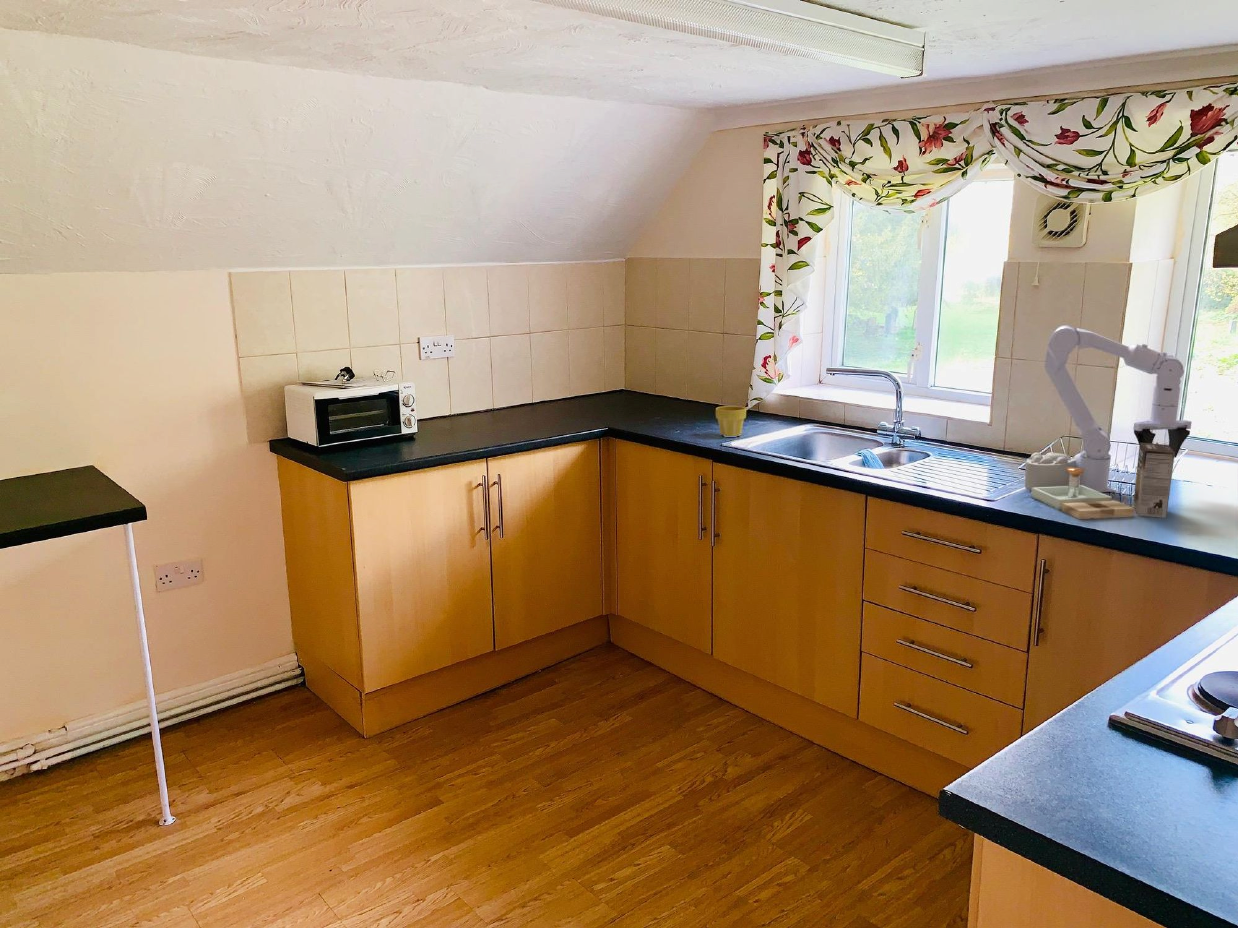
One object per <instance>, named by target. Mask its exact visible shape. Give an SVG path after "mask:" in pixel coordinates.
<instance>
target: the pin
mask: <svg viewBox="0 0 1238 928" xmlns="http://www.w3.org/2000/svg"><path fill="white" fill-rule="evenodd" d="M1084 471H1085V470H1084V469H1082V468H1074V467H1071V468H1067V472H1068V473H1070V478H1069V488H1068V498H1078V495H1079V485H1080V475H1081V474H1083V473H1084Z"/></svg>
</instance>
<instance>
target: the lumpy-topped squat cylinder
mask: <svg viewBox="0 0 1238 928" xmlns="http://www.w3.org/2000/svg"><path fill="white" fill-rule="evenodd" d="M1073 458H1074V457H1073ZM1073 458H1071V457H1070V456H1069V455H1067V454H1065V453H1057V452H1052V451H1050V452H1047V453H1046V454H1042V453H1041V452H1039V451H1038V452H1033V453H1032V454H1031V456H1030V457H1028V458H1026V461H1025V471H1024V472H1025V477H1024V488H1025V489H1026V488H1027V489H1026V490H1029V491H1031V489H1032V488H1035V487H1056V486H1069V478H1070V473H1068V472H1067V468H1071V467H1074V468H1075V463H1076V460H1075V459H1073Z"/></svg>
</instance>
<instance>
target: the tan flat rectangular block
mask: <svg viewBox="0 0 1238 928" xmlns="http://www.w3.org/2000/svg"><path fill="white" fill-rule="evenodd" d="M1061 512H1063V513H1065V514H1067V515H1069V516H1071V517H1074V518H1076V519H1078V520H1087V519H1088V520H1090V518H1094V519H1108V518H1107V517H1113V518H1129V517H1134V516H1135V512H1136V511H1135V508H1134V507H1133V506H1130V505H1128V504H1126V503H1123V502H1121V501H1119V500H1118V501H1117V500H1112V501H1099V502H1079V503H1063V505H1062V509H1061Z"/></svg>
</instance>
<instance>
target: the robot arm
mask: <svg viewBox="0 0 1238 928" xmlns="http://www.w3.org/2000/svg"><path fill="white" fill-rule="evenodd" d="M1077 346H1078V349H1079V350H1083V349H1089V348H1091V349H1095V350H1098V351H1102V352H1105V353H1107V354H1109V355H1113V356H1117V357H1118V358H1122V359H1123V361H1124V364H1125V366H1128V367H1130V368H1133V369H1136V370H1139V371H1140V372H1143V373H1146V374H1149V375H1156V378H1155V384H1154V386H1153V394H1152V400H1151V411H1150V419H1149V420H1144V421H1134V422H1133V428H1132V429H1133V434H1134V435H1135V437H1136V439H1137V442H1138V447H1139V446H1140V443H1153V442H1154V439H1155V437H1156V433H1154V432H1152V431H1157V430H1161V431H1162V430H1167V433H1168V445H1169V446H1170V448H1171V449H1172V450H1173V451H1174V452H1175V455H1174V459H1175V458H1177V456H1178V454H1179V452H1180V450H1181V447H1182V446H1183V444H1184V442H1185V441H1186V439H1187V438H1188V437H1189V436H1190V434H1191V431H1190V430H1191V429H1192V421H1191V420H1185V419H1184V420H1181V419H1177V417H1178V408H1179V400H1180V395H1181V394H1180V393H1181V387H1180V386H1181V384H1182V383H1181V378H1182V377H1183V376H1184V373H1185V370H1184V365H1183V364H1182V362H1181V361H1180V360H1179V359H1178V358H1177V357H1175V356H1174V355H1171V354H1170V355H1168V353H1167V352H1166V351H1162V352H1159V351H1157V350H1155V349H1151V348H1150V347H1149V346H1148V344H1145V343H1141V345H1140V344H1139V343H1136V344H1133V345H1130V346H1127V345H1125V344H1123V343H1121V342H1118V341H1115V340H1112V339H1110V338H1108V337H1106V336H1103V335H1101V334H1098V333H1096V332H1093V331H1091V330H1086V329H1083V328H1078V327H1077V328H1075V327H1073V326H1071V325H1061V326H1059V327H1057V328H1056V329H1055V330H1054V331H1053V333H1052V335H1051V337H1050V339H1049V341H1048V344H1047V349H1046V353H1045V354H1046V355H1045V360H1044V361H1045V362H1044V369H1045V370H1044V371H1046V373H1047V376H1048V377H1049V379H1050V381H1051V382H1052V384H1053V386H1054V388H1055V390H1056V392H1057V393H1058V395H1059V397H1060V399H1061V400H1062V402H1063V404H1064V406H1065V407H1066V410H1067V411H1068V413H1069V415H1070V418H1072V421H1073V423H1074V424H1075V426H1076V427H1077V430H1078V433H1079V435H1080V437H1081V440H1082V442H1083V443H1082V444H1083V450H1082V451H1080V452H1079V453H1077V454H1075V456H1073V459H1075V460H1076V463H1075V468H1082V469H1084V470H1085V471H1084V473H1083V474H1081V475H1080V485H1083V486H1085V487H1088V488H1090V489H1093V490H1095V491H1098V492H1100V493H1113V492H1114V493H1115V492H1116V490H1115V489H1113V488H1111V487H1109V486H1108V485H1109V479H1110V478H1109V475H1110V467H1111V457H1112V455H1111V454H1110V453H1109V452H1110V450H1111V445H1112V443H1111V439H1110V435H1109V432H1107V431H1106V430H1105V429H1103V428H1102V427H1101V426H1100V424H1099V423H1098V421H1097V420H1096V418H1095V417H1094V415H1093V414H1092V411H1091V410H1090V408H1089V406H1088V404H1087V403H1086V401H1085V399H1084V397H1083V396H1082V394H1081V392H1080V390H1079V387H1077V385H1076V382H1075V381H1074V379H1073V378H1072V375H1071V373H1070V372H1069V370H1068V368H1067V366H1066V364H1067V361H1068V359H1069V357H1070V355H1071V354H1072V352H1073V351H1074V350H1076V348H1077Z"/></svg>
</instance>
